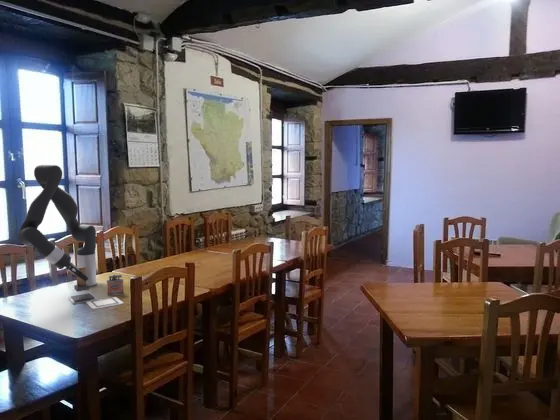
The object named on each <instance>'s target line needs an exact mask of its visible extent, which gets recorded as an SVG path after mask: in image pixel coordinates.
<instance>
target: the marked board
mask: <svg viewBox="0 0 560 420" xmlns="http://www.w3.org/2000/svg"><path fill="white" fill-rule="evenodd" d="M85 304H87V305H88V306H89V307H90V308H91V309H92V310H98V309H104V308H109V307H115V306H120V305H124V302H123V301H122V300H121V299H120V298H118V297H117V296H114V297H106V298H102V299H101V298H100V299H97V300H94V301H89V302H85Z"/></svg>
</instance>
